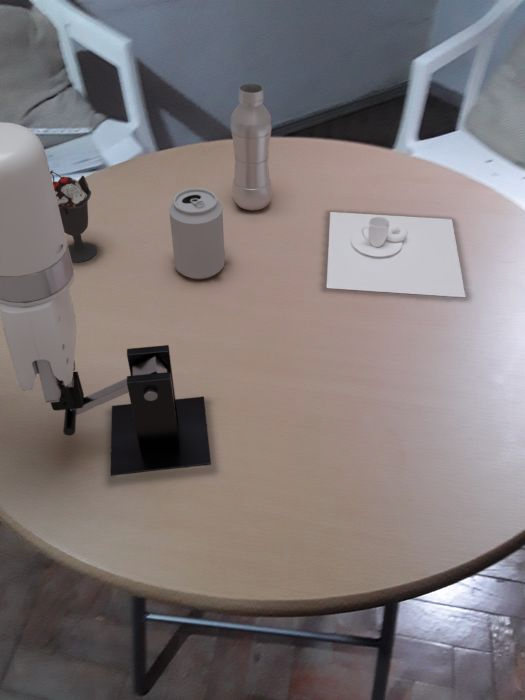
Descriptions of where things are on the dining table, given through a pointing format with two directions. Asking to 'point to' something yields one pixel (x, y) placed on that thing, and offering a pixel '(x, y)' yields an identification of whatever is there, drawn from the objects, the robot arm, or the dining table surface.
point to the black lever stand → (157, 422)
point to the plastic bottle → (251, 148)
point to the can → (197, 233)
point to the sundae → (74, 214)
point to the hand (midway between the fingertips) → (68, 403)
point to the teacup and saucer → (393, 255)
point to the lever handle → (110, 393)
